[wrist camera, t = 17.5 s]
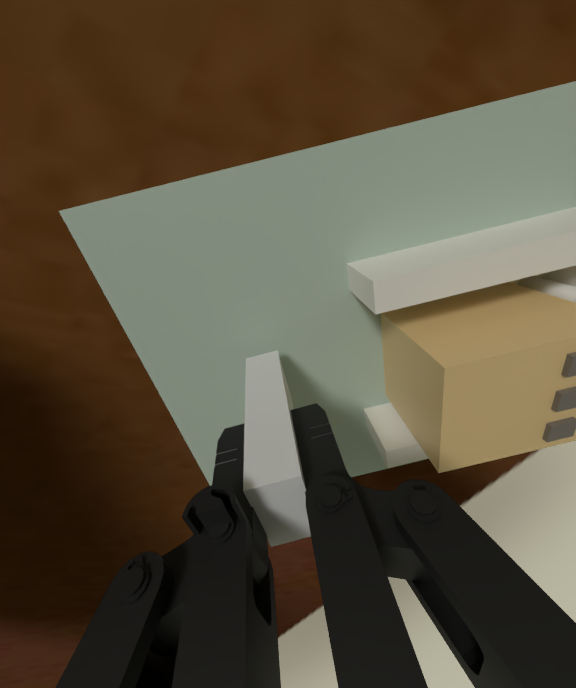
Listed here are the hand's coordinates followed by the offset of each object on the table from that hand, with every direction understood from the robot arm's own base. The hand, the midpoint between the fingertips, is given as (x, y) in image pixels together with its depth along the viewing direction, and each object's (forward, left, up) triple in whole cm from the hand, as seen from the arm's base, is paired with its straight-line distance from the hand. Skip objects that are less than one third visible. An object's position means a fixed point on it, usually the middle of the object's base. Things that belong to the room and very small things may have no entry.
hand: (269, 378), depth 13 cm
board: (+4, 0, -2) cm, 5 cm away
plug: (+9, -1, -1) cm, 9 cm away
